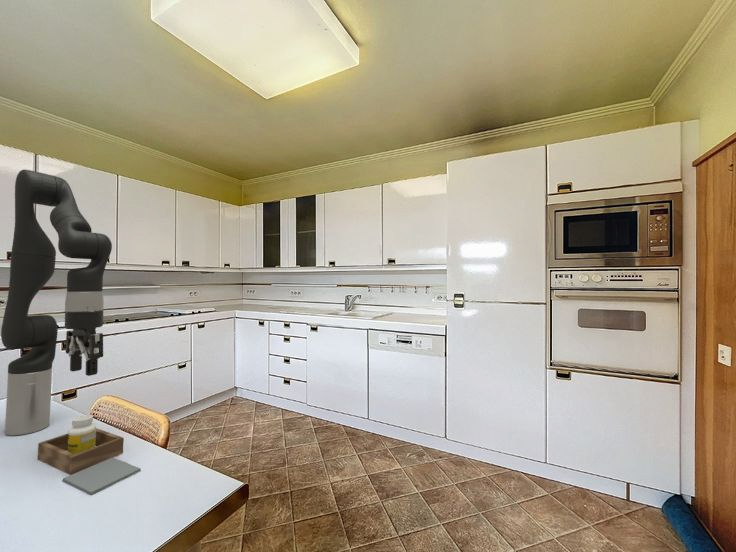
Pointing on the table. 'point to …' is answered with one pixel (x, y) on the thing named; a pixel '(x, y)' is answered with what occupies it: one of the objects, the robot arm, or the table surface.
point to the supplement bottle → (81, 434)
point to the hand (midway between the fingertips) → (83, 372)
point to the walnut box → (69, 463)
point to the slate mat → (101, 475)
